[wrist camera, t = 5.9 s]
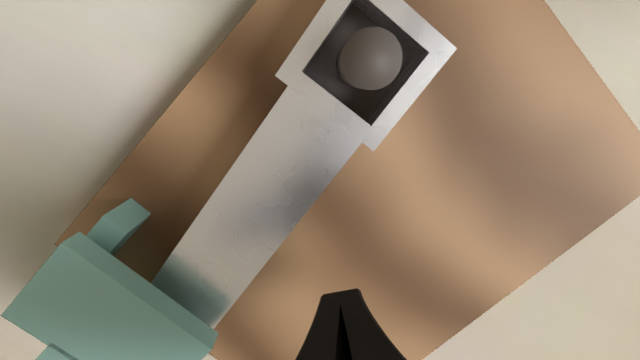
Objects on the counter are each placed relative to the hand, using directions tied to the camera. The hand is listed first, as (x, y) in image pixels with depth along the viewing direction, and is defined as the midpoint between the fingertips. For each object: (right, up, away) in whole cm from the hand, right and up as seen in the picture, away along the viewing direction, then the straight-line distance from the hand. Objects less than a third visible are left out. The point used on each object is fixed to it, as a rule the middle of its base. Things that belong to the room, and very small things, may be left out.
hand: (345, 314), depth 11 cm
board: (+1, +4, +3) cm, 5 cm away
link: (-3, +5, +1) cm, 6 cm away
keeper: (-9, 0, +4) cm, 10 cm away
